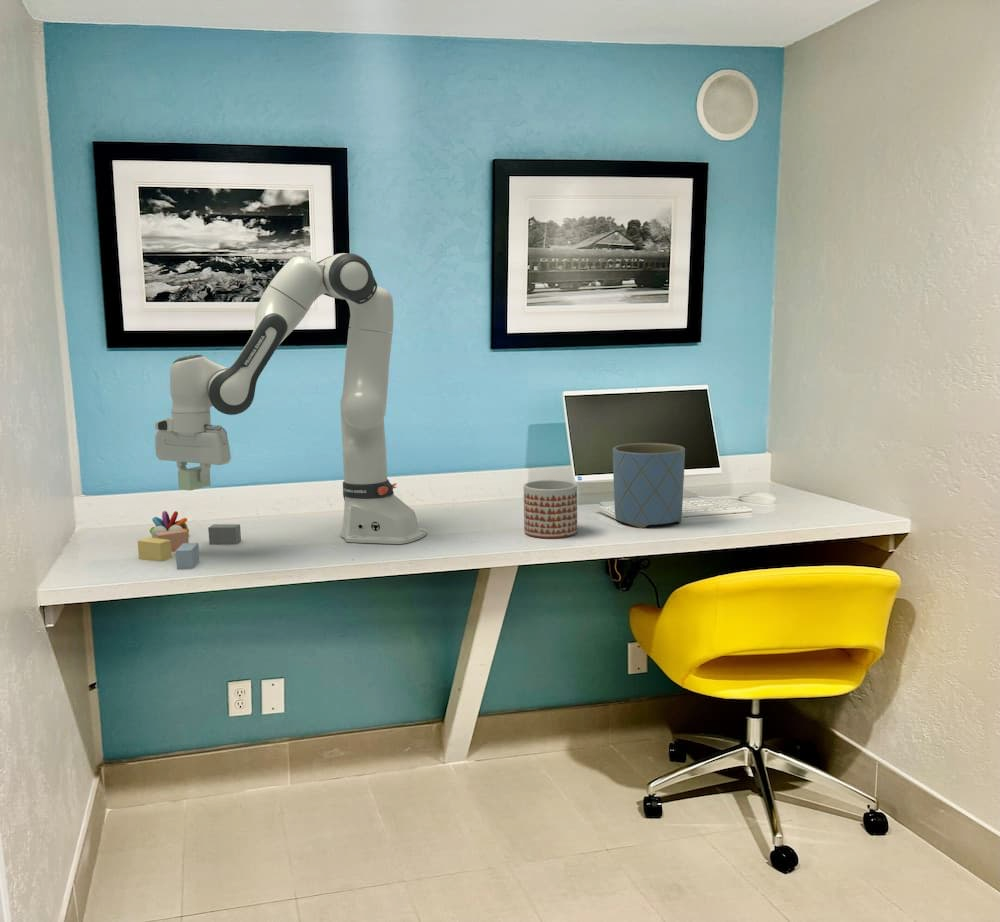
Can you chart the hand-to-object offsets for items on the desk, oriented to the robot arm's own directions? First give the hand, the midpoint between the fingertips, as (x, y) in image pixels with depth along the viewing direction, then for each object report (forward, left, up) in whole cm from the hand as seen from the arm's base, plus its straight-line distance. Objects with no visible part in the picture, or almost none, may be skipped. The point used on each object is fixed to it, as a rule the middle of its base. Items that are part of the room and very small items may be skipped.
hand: (194, 480), depth 230 cm
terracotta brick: (+9, -1, -18) cm, 20 cm away
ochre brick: (+7, +7, -18) cm, 21 cm away
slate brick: (-5, +9, -18) cm, 21 cm away
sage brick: (0, 0, -2) cm, 2 cm away
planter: (-93, -70, -18) cm, 118 cm away
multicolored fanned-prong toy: (+19, -10, -18) cm, 28 cm away
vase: (-73, -49, -18) cm, 90 cm away
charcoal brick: (+1, -11, -18) cm, 21 cm away
